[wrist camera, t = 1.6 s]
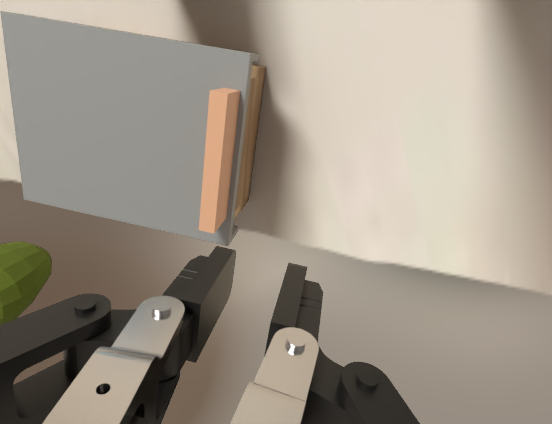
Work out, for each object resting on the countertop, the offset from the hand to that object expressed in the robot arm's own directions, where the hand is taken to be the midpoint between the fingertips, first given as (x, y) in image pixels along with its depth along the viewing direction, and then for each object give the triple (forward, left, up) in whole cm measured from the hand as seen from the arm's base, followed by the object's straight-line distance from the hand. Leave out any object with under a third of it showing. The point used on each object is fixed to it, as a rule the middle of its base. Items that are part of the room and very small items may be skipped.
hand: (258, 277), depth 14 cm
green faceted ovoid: (+30, +20, -23) cm, 43 cm away
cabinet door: (+15, 0, -18) cm, 23 cm away
